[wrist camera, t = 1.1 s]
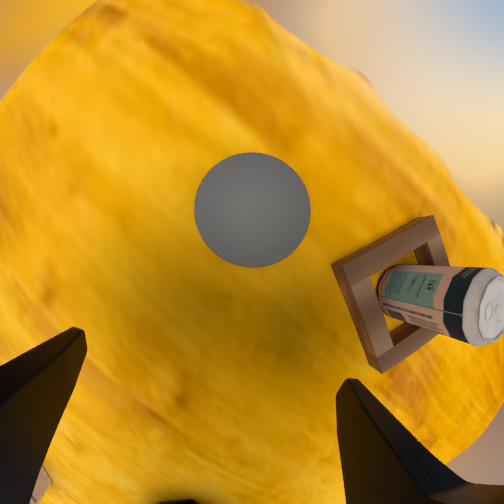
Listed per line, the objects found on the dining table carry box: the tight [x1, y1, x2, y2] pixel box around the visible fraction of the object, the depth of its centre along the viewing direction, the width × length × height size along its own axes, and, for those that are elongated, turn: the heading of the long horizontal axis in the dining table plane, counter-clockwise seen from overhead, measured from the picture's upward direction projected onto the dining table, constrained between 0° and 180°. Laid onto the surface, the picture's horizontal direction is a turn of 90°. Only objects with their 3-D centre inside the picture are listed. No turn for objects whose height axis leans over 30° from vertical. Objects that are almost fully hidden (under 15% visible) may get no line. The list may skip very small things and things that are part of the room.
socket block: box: [331, 215, 450, 374], centre depth 23 cm, size 10×10×2 cm
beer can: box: [378, 264, 504, 346], centre depth 18 cm, size 5×5×12 cm
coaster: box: [194, 153, 310, 267], centre depth 23 cm, size 9×9×1 cm
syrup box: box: [30, 466, 52, 504], centre depth 13 cm, size 6×6×14 cm
